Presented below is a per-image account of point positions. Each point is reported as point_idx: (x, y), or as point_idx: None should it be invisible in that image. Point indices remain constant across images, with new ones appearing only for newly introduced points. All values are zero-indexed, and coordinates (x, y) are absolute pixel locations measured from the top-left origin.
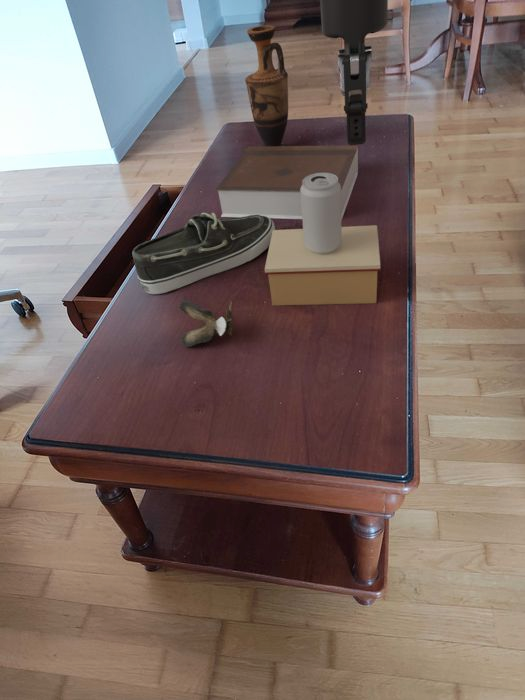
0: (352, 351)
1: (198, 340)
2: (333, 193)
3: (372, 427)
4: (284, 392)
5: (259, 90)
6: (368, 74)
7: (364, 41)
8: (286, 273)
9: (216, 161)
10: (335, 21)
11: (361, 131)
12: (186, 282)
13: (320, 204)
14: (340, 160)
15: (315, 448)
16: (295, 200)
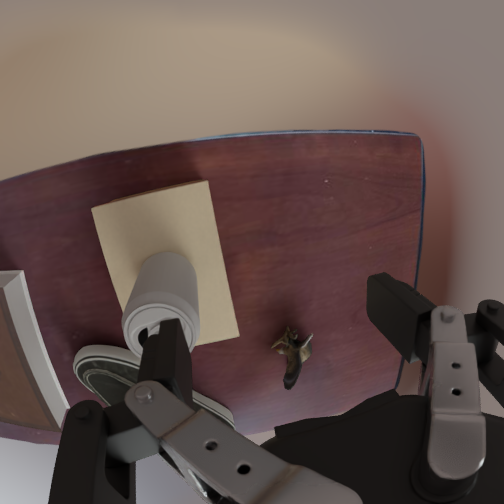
0: (297, 193)
1: (310, 350)
2: (182, 299)
3: (387, 162)
4: (359, 248)
5: None
6: (475, 382)
7: None
8: (233, 307)
9: None
10: None
11: (417, 292)
12: (210, 400)
13: (198, 311)
14: None
15: (408, 206)
16: (26, 341)
